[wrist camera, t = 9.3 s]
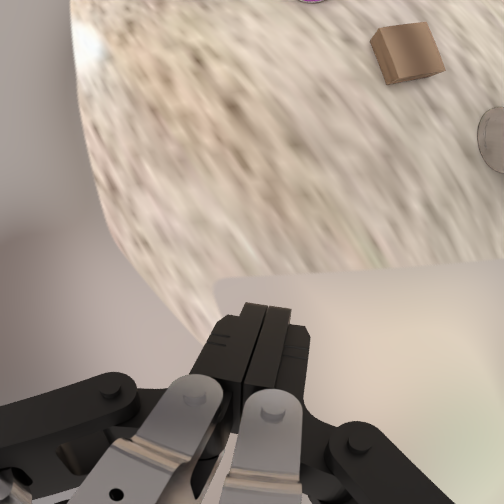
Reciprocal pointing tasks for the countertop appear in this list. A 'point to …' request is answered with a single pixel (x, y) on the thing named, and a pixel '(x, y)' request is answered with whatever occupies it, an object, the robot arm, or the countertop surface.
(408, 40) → the walnut block
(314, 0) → the supplement bottle
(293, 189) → the countertop surface
